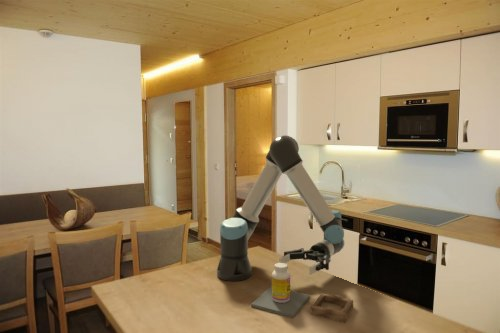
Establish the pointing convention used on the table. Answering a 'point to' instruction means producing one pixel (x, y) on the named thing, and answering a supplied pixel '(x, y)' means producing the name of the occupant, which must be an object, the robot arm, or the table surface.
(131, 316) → the table surface
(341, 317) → the locating collar
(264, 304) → the slate mat
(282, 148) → the robot arm
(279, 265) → the supplement bottle
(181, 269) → the table surface
